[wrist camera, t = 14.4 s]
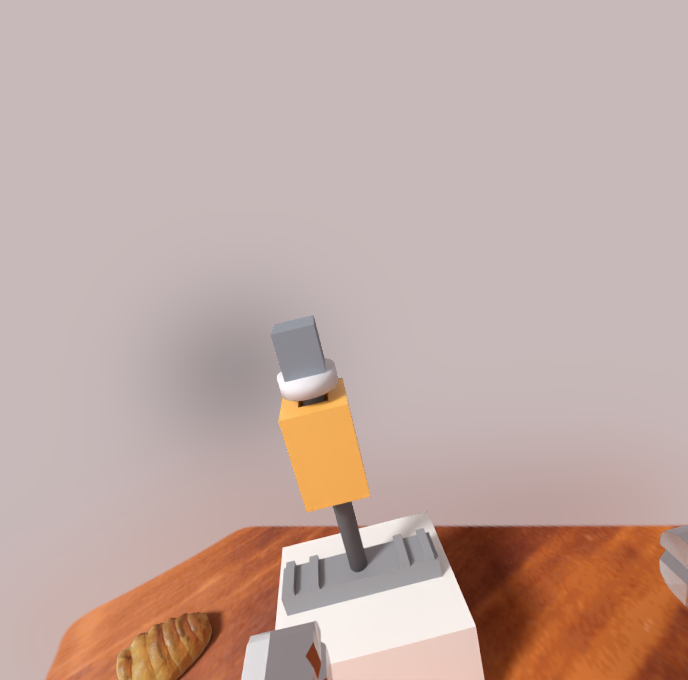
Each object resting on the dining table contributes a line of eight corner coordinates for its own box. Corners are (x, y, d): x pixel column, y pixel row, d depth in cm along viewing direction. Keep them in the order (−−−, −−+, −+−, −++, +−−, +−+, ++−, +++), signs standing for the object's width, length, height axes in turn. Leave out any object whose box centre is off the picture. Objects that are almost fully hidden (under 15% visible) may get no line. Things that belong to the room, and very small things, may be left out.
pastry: (206, 607, 45) (196, 585, 44) (220, 653, 40) (209, 629, 39) (123, 666, 41) (110, 642, 40) (127, 726, 35) (111, 701, 34)
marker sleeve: (361, 458, 32) (342, 377, 30) (370, 496, 28) (347, 404, 25) (307, 471, 32) (283, 391, 30) (306, 512, 27) (278, 421, 25)
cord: (381, 554, 35) (322, 311, 28) (391, 597, 31) (324, 324, 24) (338, 565, 35) (267, 324, 28) (341, 610, 31) (259, 339, 24)
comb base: (440, 580, 42) (423, 491, 38) (489, 710, 30) (472, 601, 27) (306, 614, 41) (276, 528, 38) (303, 759, 30) (260, 656, 26)
